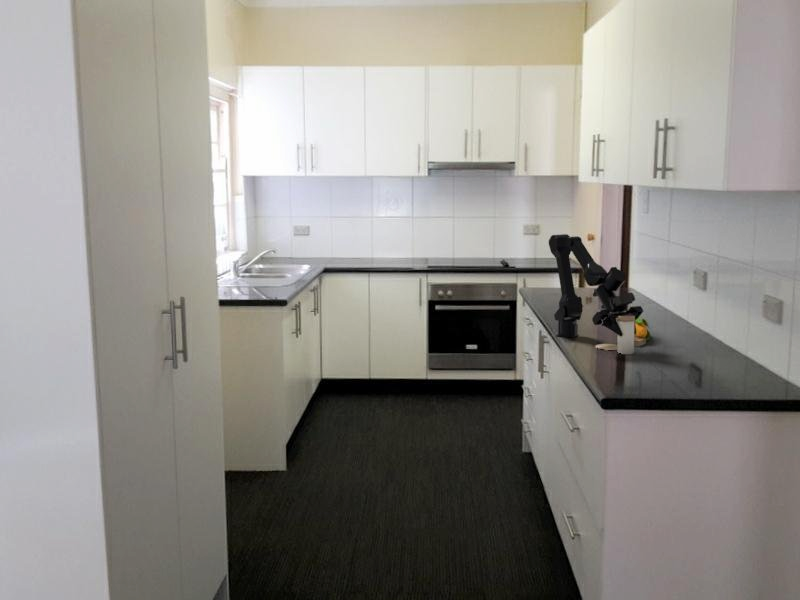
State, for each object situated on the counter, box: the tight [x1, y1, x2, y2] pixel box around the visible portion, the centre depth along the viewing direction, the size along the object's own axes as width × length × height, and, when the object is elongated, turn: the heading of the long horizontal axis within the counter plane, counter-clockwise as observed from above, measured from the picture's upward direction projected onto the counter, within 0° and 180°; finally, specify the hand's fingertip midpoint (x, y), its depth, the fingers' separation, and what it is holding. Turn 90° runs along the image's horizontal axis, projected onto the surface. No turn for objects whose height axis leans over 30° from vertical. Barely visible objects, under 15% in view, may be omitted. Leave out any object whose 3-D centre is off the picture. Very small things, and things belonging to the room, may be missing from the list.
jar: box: [616, 315, 635, 355], centre depth 288 cm, size 6×6×13 cm
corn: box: [634, 317, 651, 341], centre depth 311 cm, size 7×8×20 cm
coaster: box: [595, 343, 617, 351], centre depth 297 cm, size 9×9×1 cm
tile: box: [634, 337, 647, 347], centre depth 302 cm, size 6×6×2 cm
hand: (628, 334), depth 287 cm, fingers closed on jar, 6 cm apart
